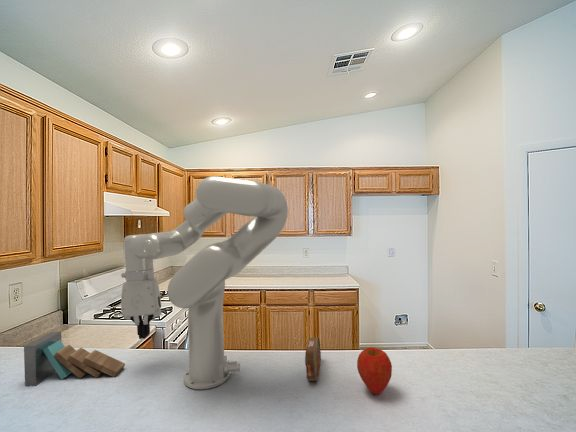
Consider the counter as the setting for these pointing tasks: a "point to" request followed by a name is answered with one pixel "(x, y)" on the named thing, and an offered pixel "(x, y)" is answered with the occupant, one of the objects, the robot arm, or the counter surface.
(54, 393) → the counter surface
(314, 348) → the tin
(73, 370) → the domino
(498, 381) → the counter surface
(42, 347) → the block
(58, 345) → the domino
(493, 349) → the counter surface
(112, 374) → the domino
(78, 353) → the domino
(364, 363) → the apple
